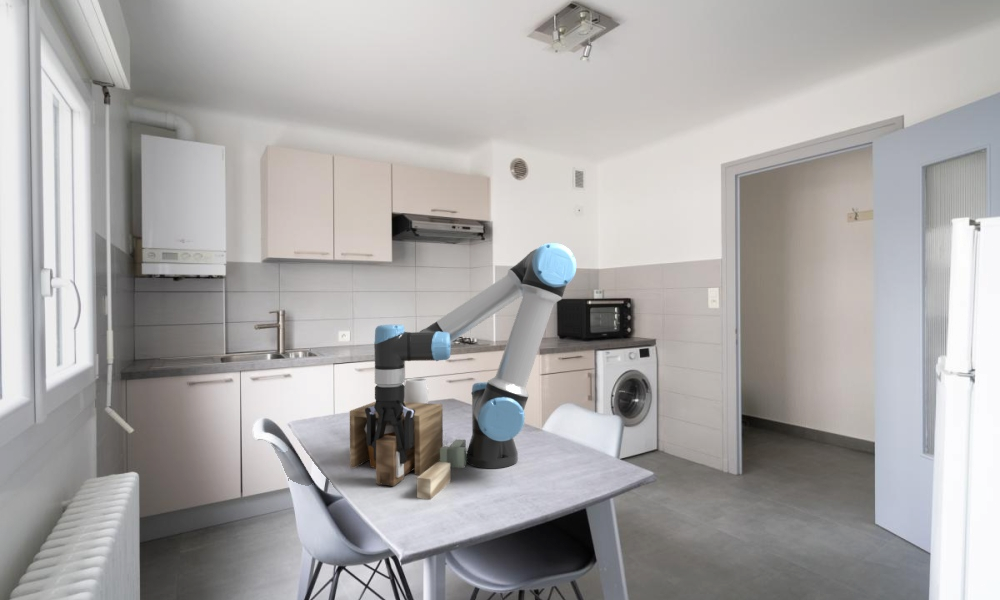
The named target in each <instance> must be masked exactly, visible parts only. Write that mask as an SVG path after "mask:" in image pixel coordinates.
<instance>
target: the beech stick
mask: <svg viewBox="0 0 1000 600" xmlns="http://www.w3.org/2000/svg"><path fill="white" fill-rule="evenodd" d="M416 480H417V481H416V492H417V494H416V497H417V499H422V500H423V499H424V500H432V499H433V498H434V497H435V496H436V495H437V494H438V493H440V492H441V491H442V489H444V488H445V487H446V486H448V484H449V483H450V482H451V467H450V463H446V462H440V461H438V462H436V463H435V464H434V465H432V466H431V467H430V468H428V469H427V470H426V471H424V472H423V473H422V474H420V475H418V476H417V477H416Z"/></svg>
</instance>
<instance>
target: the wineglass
mask: <svg viewBox="0 0 1000 600" xmlns="http://www.w3.org/2000/svg"><path fill="white" fill-rule="evenodd" d="M404 383H405V384H404V386H405V397H404V402H410V403H427V404H429V387H428V382H427V378H422V377H413V378H408V379H406V380H405V381H404Z"/></svg>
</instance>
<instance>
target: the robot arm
mask: <svg viewBox="0 0 1000 600" xmlns="http://www.w3.org/2000/svg"><path fill="white" fill-rule="evenodd" d="M576 272H577V260H576V257H575V255H574V254H573V252H572V250H570V249H569V248H568V247H567V246H565V245H564V244H562V243H561V244H560V243H555V242H554V243H553V242H550V243H545V244H543V245H540V246H539V247H538V248H535V249H533V250H532V251H530V252H529V253H528V254H526V256H525V257H523V258H522V259H521V260H520V261H519V262H517V264H515V265H513V267H511V268H510V269H508V270H507V274H506V275H505V276H503V277H502V278H501V279H499V280H497V281H496V282H494V283H493V284H491V285H489V286H488V287H487V288H485V289H483V290H481V292H479V293H477V294H476V295H474V296H473V297H472V298H470V299H469V300H468V299H467V301H465V302H464V303H462V304H460V305H459V306H458V307H456V308H454V309H453V310H451V311H450V312H448V313H447V314H446V315H444V316H443V317H441V318H439V319H438V320H437V321H435V322H433V323H432V324H430V325H429V326H427V327H425V328H423V329H421V330H420V331H417V332H416V331H415V332H413V331H412V332H409V331H406V330H405V325H403V324H380V325H378V326H376V327H375V331H374V342H373V343H374V344H373V345H374V384H375V386H374V400H375V401H374V402H375V405H374V406H371V407H368V408H366V409H365V413H366V416H367V445H368V446H371V447H373V449H374V461H376V440H378V439H380V438H382V437H384V432H385V428H386V424H387V422H388V421H391V423H392V425H393V427H394V432H395V436H396V440H397V445H398V449H399V450H397V451H396V477H397V478H399V477H400V476H402V475H403V474H404V463H405V462H406V460H407V457H406V456H407V450H408V449H410V448H411V447H413V446H414V436H413V417H414V414H415V410H414V409H408V408H406V406H405V404H404V397H405V384H404V383H405V362H411V361H412V362H413V361H415V362H416V361H418V362H420V361H421V362H423V361H425V362H426V361H432V362H433V361H436V362H438V361H446V360H449V359H450V357H451V344H452V343H453V342H454V341H456V340H457V339H459V338H460V337H461V336H463V335H465V334H467V333H468V332H469V331H471V330H472V329H474V328H475V327H477V326H479V325H480V324H481V323H483V322H484V321H486V320H488V319H489V318H490V317H492V316H493V315H495V314H497V313H498V312H500V311H502V310H503V309H504V308H505V307H507V306H509V305H510V304H512V303H514V302H515V301H517V300H518V299H519V298H521V297H522V298H521V302H520V305H519V308H518V311H517V314H516V316H515V319H514V322H513V324H512V327H511V330H510V334H509V336H508V339H507V342H506V345H505V348H504V351H503V354H502V357H501V359H500V363H499V365H498V368H497V371H496V374H495V376H494V377H493V378H490V379H489V380H488V381H487V382H485V381H483V382H476V383H473V384H472V388H471V394H470V395H471V400H472V401H471V408H472V409H471V413H472V415H471V416H472V417H471V418H472V420H471V421H472V425H471V426H472V427H471V428H472V431H471V432H472V434H471V438H470V441H469V443H468V448H467V449H466V463H467V464H469V465H471V466H473V467H475V468H479V469H480V468H482V469H499V468H501V469H502V468H506V467H510V466H513V465H516V463H517V462H519V461H518V459H519V452H518V449H517V445H516V443H515V440H514V438H515V437H517V436H518V434H520V432H521V431H522V429H523V427H524V425H525V416H526V415H525V408H526V404H527V402H528V398H529V396H530V395H529V392H528V390H527V385H528V381H529V379H530V375H531V372H532V370H533V367H534V364H535V361H536V358H537V355H538V353H539V349H540V347H541V343H542V340H543V337H544V334H545V331H546V329H547V326H548V323H549V320H550V317H551V314H552V311H553V308H554V305H555V304H556V303H557V302H559V301H561V300H562V299H563V296H564V293H565V291H566V288H567V285H568V284H569V283H571V281H572V280H573V279H574V277H575V275H576ZM376 412H377V413H378V415H379V416H378V421H377V423H378V425H377V429H376ZM403 412H404V417H405V421H404V425H405V434H404V430H403V425H402V416H401V415H402V413H403ZM396 420H397V421H396Z"/></svg>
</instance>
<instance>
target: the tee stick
mask: <svg viewBox="0 0 1000 600" xmlns="http://www.w3.org/2000/svg"><path fill="white" fill-rule="evenodd" d="M466 443H467V441H466V439H461V438H460V439H457V438H456V439H455V440H454V441H453V442H452V443H451V444H450V445H449V446H444V445H443V446H442V447H441V448H440V460H439V462H446V463H450V468H463V469H464V468H465V467H466V466H467V447H466V445H467V444H466Z"/></svg>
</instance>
